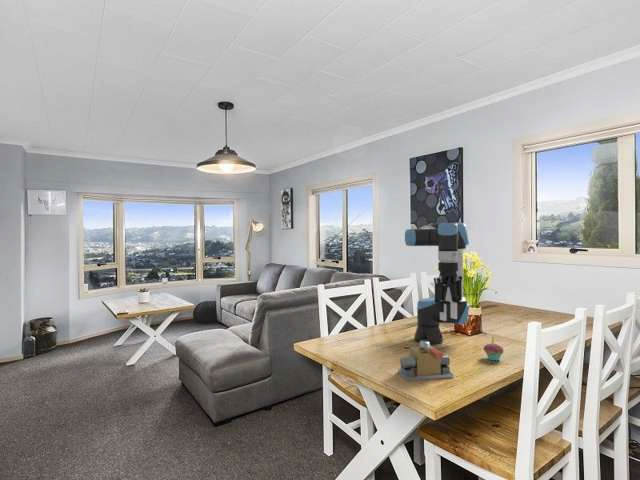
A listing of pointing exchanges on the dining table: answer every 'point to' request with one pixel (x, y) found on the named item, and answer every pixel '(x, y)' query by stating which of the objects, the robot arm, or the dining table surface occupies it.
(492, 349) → the cupcake
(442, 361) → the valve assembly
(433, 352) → the lever
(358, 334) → the dining table surface
